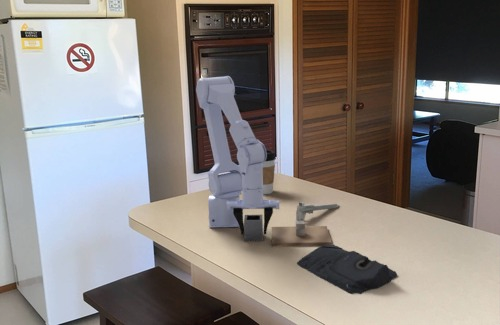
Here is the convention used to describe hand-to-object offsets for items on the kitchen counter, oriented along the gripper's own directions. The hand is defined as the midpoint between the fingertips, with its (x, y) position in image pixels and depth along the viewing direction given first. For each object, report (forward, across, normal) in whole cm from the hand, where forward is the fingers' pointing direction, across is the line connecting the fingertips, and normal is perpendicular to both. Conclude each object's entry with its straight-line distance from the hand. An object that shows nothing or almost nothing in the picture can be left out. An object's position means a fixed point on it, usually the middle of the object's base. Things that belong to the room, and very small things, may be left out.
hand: (253, 233), depth 147 cm
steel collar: (+1, 0, 0) cm, 1 cm away
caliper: (+2, +20, +19) cm, 28 cm away
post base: (+2, +13, 0) cm, 13 cm away
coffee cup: (+2, +3, +43) cm, 43 cm away
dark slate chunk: (+2, +22, -21) cm, 31 cm away
